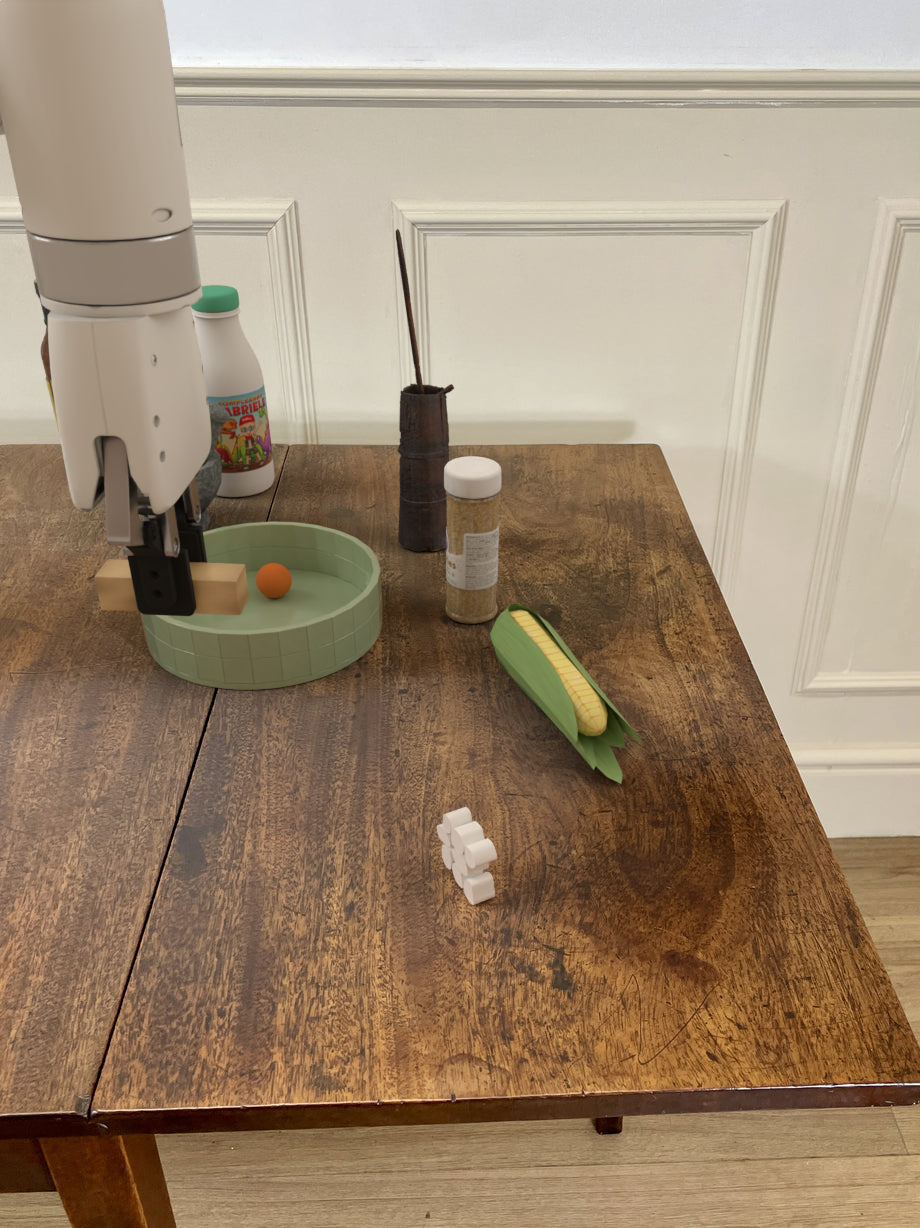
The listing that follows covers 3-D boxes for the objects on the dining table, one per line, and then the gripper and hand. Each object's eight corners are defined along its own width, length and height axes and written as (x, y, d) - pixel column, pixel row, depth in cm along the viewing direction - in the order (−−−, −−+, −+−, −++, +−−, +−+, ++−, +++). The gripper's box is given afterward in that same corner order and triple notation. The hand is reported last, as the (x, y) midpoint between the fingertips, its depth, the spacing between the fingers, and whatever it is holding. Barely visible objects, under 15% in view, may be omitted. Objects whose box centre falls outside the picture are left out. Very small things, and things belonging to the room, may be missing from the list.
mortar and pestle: (122, 550, 97) (97, 426, 91) (127, 509, 105) (104, 391, 98) (245, 539, 100) (230, 418, 93) (241, 500, 107) (226, 385, 101)
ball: (254, 604, 88) (250, 572, 87) (262, 587, 91) (258, 556, 89) (289, 605, 88) (286, 573, 87) (296, 588, 91) (293, 557, 89)
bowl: (113, 686, 79) (101, 630, 76) (183, 568, 95) (174, 518, 92) (367, 693, 79) (363, 637, 76) (393, 574, 95) (391, 524, 92)
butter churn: (492, 524, 104) (497, 223, 89) (473, 566, 96) (475, 245, 81) (403, 515, 105) (393, 217, 90) (377, 556, 98) (361, 238, 82)
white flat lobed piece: (496, 901, 61) (497, 845, 59) (474, 909, 61) (475, 853, 58) (457, 849, 65) (457, 794, 62) (437, 857, 64) (436, 802, 62)
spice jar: (440, 602, 90) (438, 456, 83) (491, 597, 92) (493, 452, 84) (451, 629, 87) (450, 478, 79) (504, 623, 88) (508, 473, 80)
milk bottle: (185, 487, 110) (154, 290, 99) (240, 465, 115) (216, 276, 104) (236, 505, 106) (209, 303, 95) (290, 482, 112) (271, 288, 100)
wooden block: (101, 610, 60) (93, 576, 58) (114, 591, 61) (107, 558, 60) (240, 615, 60) (236, 581, 58) (249, 596, 61) (245, 563, 60)
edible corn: (534, 637, 86) (536, 589, 84) (654, 780, 71) (661, 726, 68) (476, 649, 84) (477, 600, 82) (586, 798, 69) (591, 743, 67)
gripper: (98, 231, 57) (153, 537, 67) (-36, 307, 43) (58, 673, 54) (236, 236, 57) (269, 541, 67) (143, 313, 43) (203, 679, 54)
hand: (175, 597), depth 60 cm, fingers closed on wooden block, 2 cm apart
